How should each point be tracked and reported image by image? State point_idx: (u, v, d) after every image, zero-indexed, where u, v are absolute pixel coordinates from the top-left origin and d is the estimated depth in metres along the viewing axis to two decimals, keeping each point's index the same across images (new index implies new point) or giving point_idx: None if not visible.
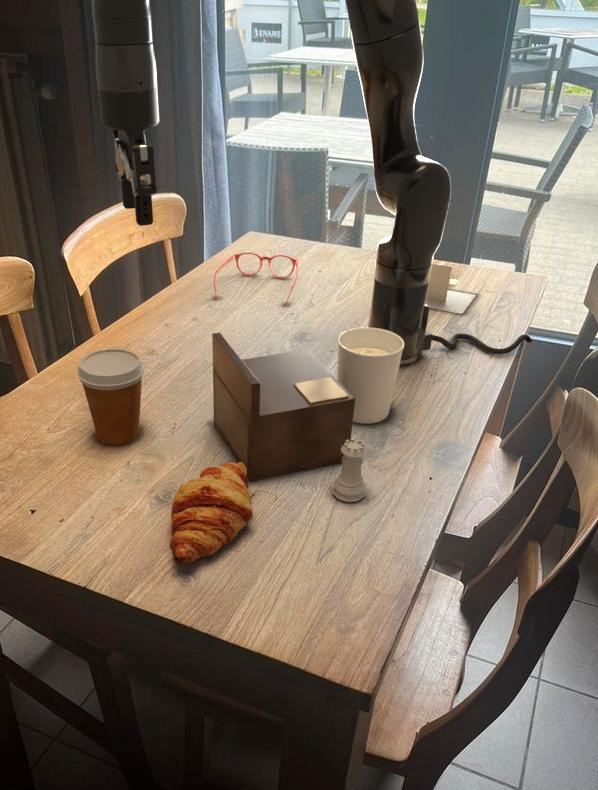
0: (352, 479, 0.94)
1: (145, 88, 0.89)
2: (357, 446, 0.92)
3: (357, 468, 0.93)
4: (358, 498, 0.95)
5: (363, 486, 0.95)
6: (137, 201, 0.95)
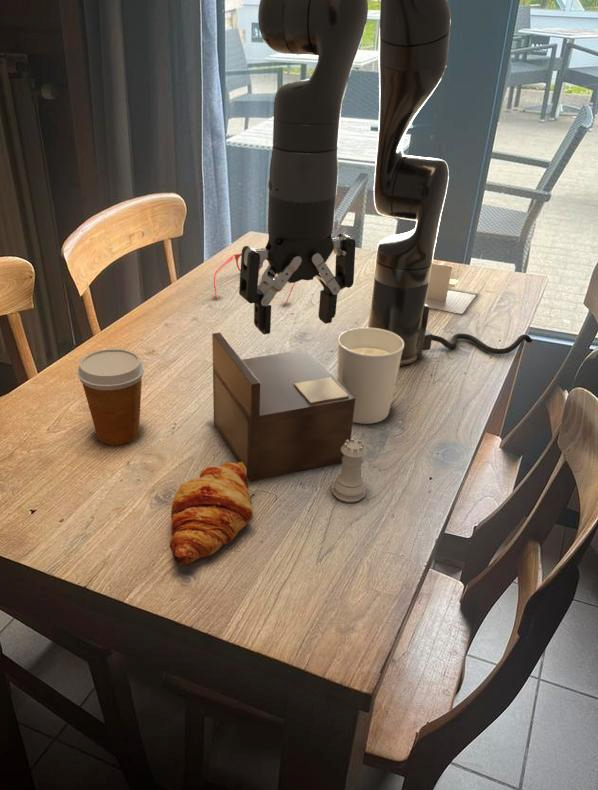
0: (352, 479, 0.94)
1: (281, 197, 0.78)
2: (357, 446, 0.92)
3: (357, 468, 0.93)
4: (358, 498, 0.95)
5: (363, 486, 0.95)
6: None
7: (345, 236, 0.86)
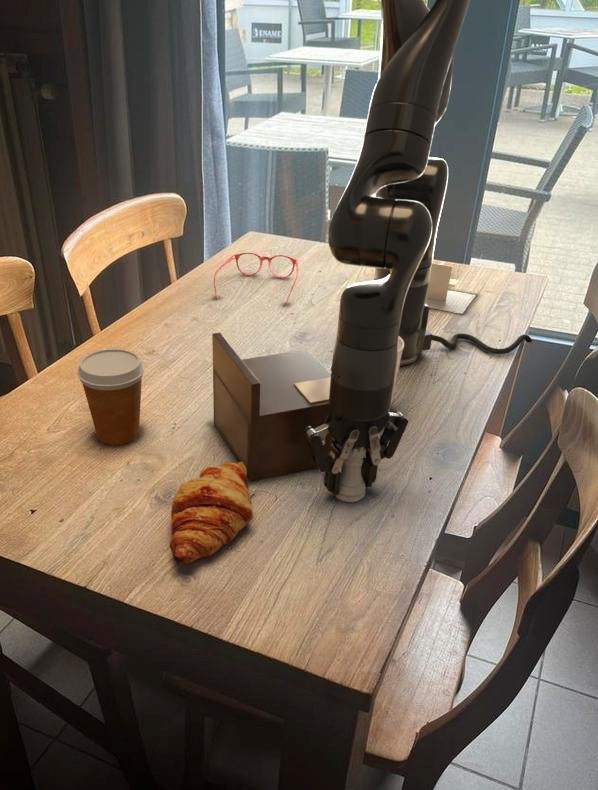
0: (352, 479, 0.94)
1: (342, 383, 0.84)
2: None
3: (357, 468, 0.93)
4: (358, 498, 0.95)
5: (363, 486, 0.95)
6: None
7: (400, 414, 0.92)
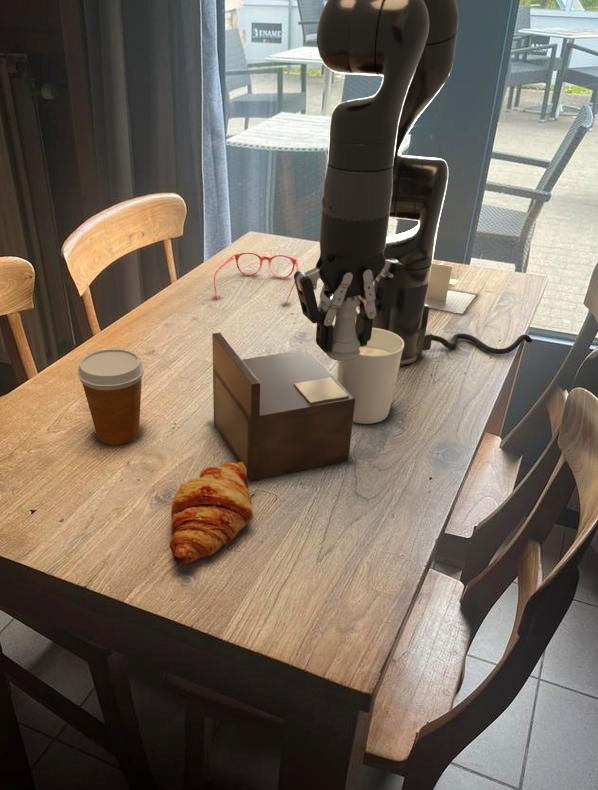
0: (346, 334, 0.88)
1: (334, 215, 0.79)
2: (351, 296, 0.87)
3: (351, 321, 0.88)
4: (352, 356, 0.90)
5: (358, 343, 0.90)
6: None
7: (396, 261, 0.86)
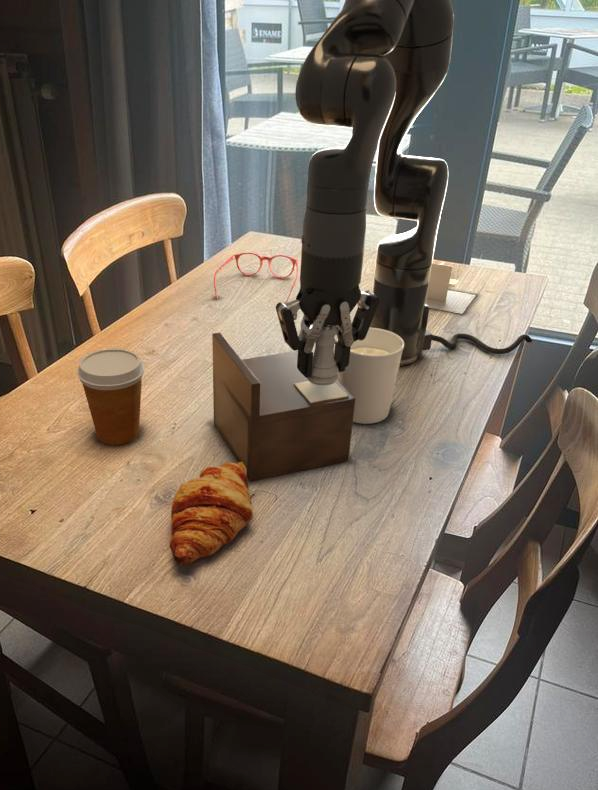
0: (325, 361, 0.95)
1: (312, 252, 0.85)
2: (329, 326, 0.93)
3: (330, 348, 0.94)
4: (331, 380, 0.96)
5: (336, 369, 0.96)
6: None
7: (372, 293, 0.93)
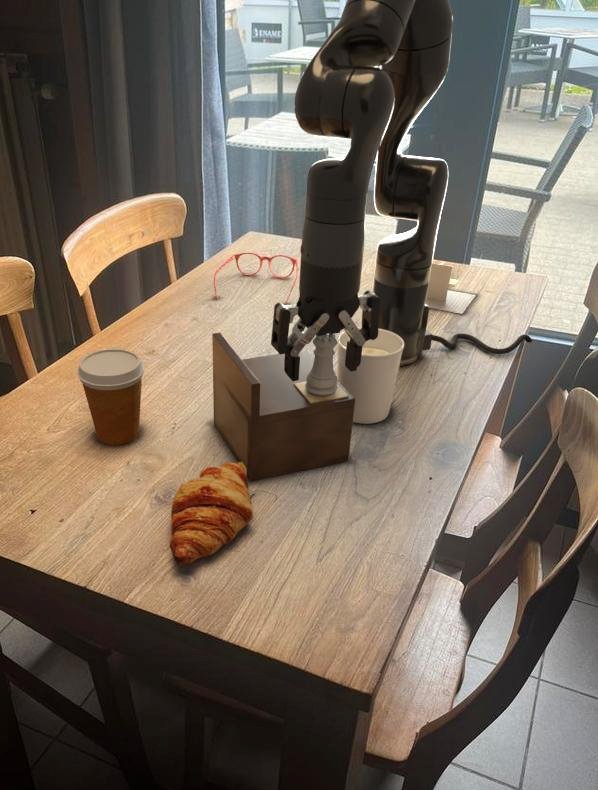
0: (324, 372, 0.96)
1: (311, 262, 0.86)
2: (328, 337, 0.94)
3: (329, 360, 0.95)
4: (330, 391, 0.97)
5: (335, 380, 0.97)
6: None
7: (371, 294, 0.93)
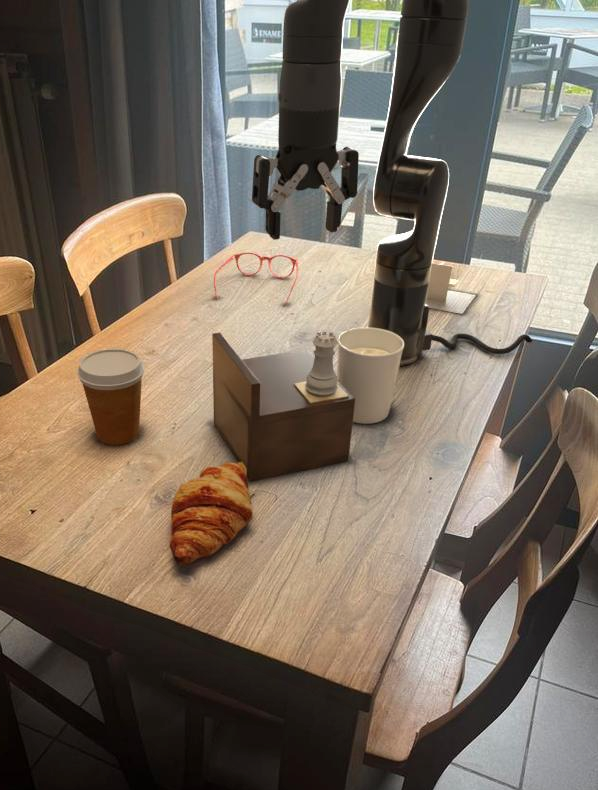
0: (324, 372, 0.96)
1: (289, 107, 0.87)
2: (328, 337, 0.94)
3: (329, 360, 0.95)
4: (330, 391, 0.97)
5: (335, 380, 0.97)
6: None
7: (349, 148, 0.94)
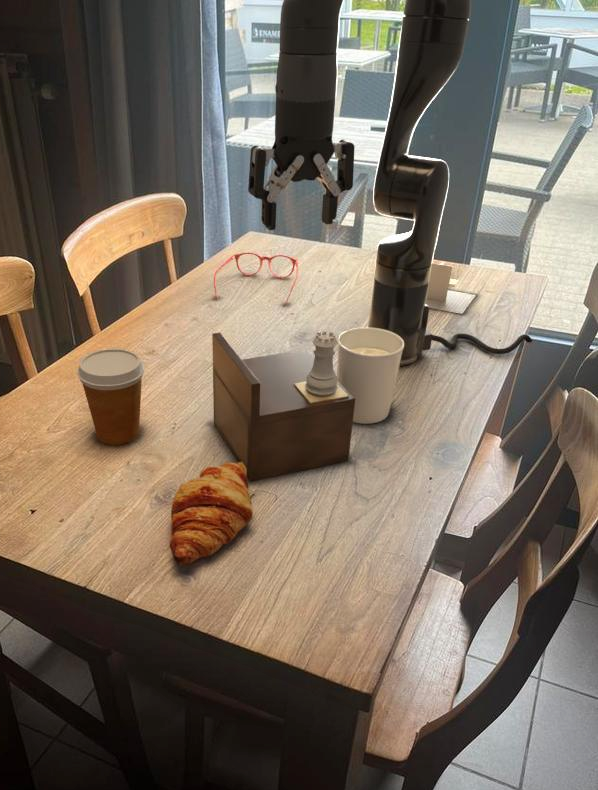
0: (324, 372, 0.96)
1: (285, 98, 0.88)
2: (328, 337, 0.94)
3: (329, 360, 0.95)
4: (330, 391, 0.97)
5: (335, 380, 0.97)
6: None
7: (345, 141, 0.95)
